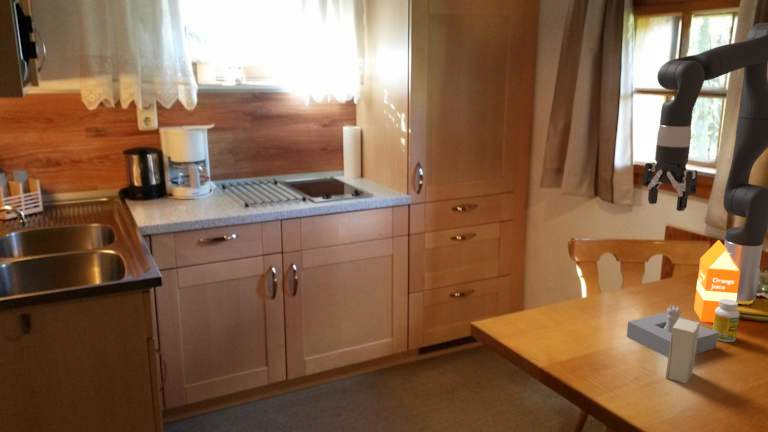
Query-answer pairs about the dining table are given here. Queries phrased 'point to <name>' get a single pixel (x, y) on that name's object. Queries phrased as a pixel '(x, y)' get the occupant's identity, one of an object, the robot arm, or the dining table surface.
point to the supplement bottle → (726, 320)
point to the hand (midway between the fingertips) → (666, 206)
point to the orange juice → (715, 281)
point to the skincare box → (682, 350)
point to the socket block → (665, 334)
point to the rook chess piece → (672, 317)
